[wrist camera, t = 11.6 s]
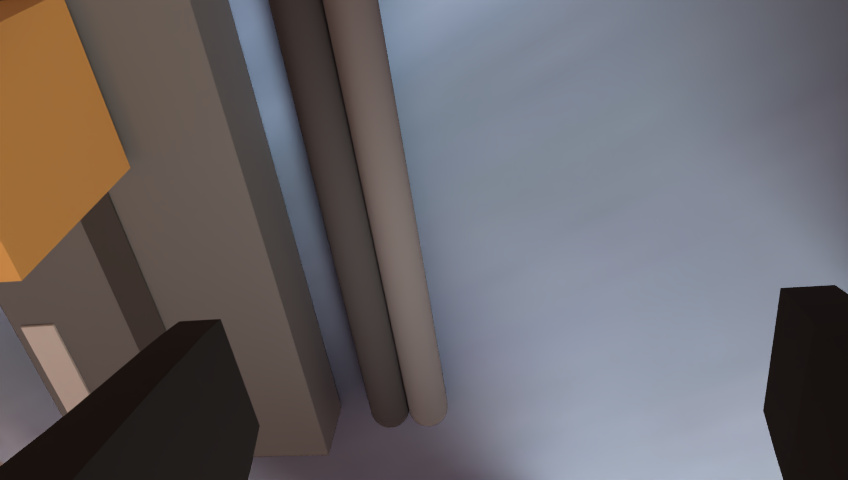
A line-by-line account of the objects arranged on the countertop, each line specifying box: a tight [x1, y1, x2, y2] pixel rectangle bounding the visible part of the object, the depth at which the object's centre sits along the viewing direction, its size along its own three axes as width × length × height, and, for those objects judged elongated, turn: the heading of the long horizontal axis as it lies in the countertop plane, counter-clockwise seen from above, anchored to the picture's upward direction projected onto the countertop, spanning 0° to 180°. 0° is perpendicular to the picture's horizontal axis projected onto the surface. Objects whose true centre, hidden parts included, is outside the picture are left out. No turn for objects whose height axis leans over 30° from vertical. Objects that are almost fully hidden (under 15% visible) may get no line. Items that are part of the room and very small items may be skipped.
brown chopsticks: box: [269, 0, 448, 427], centre depth 19 cm, size 16×2×1 cm, turn 8°
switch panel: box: [0, 0, 341, 457], centre depth 19 cm, size 16×8×2 cm, turn 8°
